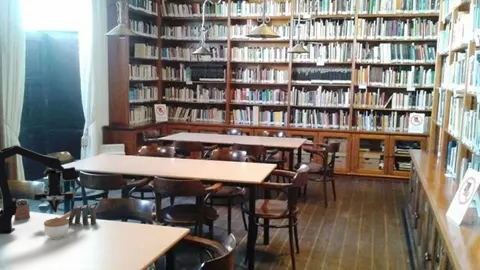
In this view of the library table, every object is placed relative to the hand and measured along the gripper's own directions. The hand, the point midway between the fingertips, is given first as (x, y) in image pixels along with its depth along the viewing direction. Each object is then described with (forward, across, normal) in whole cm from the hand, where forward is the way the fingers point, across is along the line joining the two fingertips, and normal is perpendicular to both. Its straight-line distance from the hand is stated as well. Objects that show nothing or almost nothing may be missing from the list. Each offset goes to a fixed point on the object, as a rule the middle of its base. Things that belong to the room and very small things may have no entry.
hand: (55, 212), depth 228 cm
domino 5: (+6, -18, 0) cm, 19 cm away
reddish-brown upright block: (+6, +21, -12) cm, 25 cm away
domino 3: (+6, -10, 0) cm, 12 cm away
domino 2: (+6, -6, 0) cm, 9 cm away
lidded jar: (+6, -6, +21) cm, 23 cm away
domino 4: (+6, -14, 0) cm, 16 cm away
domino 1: (+6, +1, 0) cm, 6 cm away
